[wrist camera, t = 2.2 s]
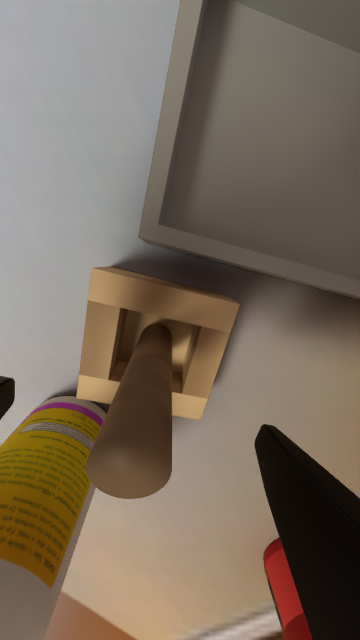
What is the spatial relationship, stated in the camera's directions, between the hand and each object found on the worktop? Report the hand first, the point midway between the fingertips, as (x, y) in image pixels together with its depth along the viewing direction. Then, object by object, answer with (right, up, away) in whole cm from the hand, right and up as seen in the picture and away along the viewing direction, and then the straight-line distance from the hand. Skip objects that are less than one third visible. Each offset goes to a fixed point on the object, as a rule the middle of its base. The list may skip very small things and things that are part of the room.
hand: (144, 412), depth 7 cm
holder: (0, +2, +7) cm, 8 cm away
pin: (0, +2, +7) cm, 7 cm away
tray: (+9, +12, +5) cm, 16 cm away
